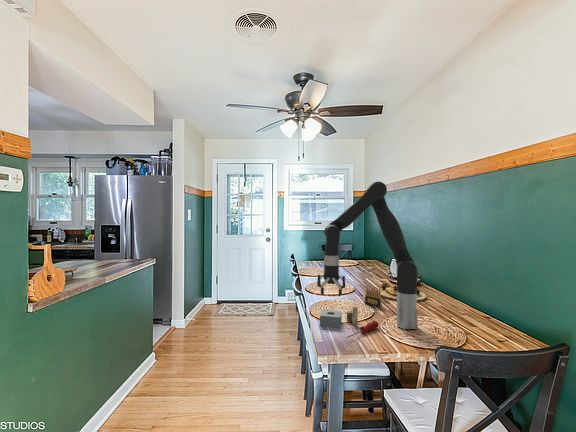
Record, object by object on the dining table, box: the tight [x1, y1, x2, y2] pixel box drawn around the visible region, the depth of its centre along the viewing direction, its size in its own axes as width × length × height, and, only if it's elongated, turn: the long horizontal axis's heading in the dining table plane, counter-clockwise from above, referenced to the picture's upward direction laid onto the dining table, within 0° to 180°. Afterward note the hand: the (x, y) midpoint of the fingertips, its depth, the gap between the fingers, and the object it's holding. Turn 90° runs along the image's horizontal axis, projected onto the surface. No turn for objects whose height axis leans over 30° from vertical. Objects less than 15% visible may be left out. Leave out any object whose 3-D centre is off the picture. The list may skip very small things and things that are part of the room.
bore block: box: [319, 309, 343, 329], centre depth 153 cm, size 10×10×5 cm
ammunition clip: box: [364, 285, 382, 308], centre depth 185 cm, size 11×2×12 cm, turn 43°
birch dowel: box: [351, 305, 359, 327], centre depth 151 cm, size 3×3×9 cm
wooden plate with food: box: [378, 281, 427, 303], centre depth 209 cm, size 32×32×8 cm
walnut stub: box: [346, 310, 352, 323], centre depth 156 cm, size 5×5×4 cm
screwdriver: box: [345, 320, 379, 339], centre depth 139 cm, size 4×25×4 cm, turn 134°
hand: (331, 295), depth 153 cm, fingers open, 8 cm apart
